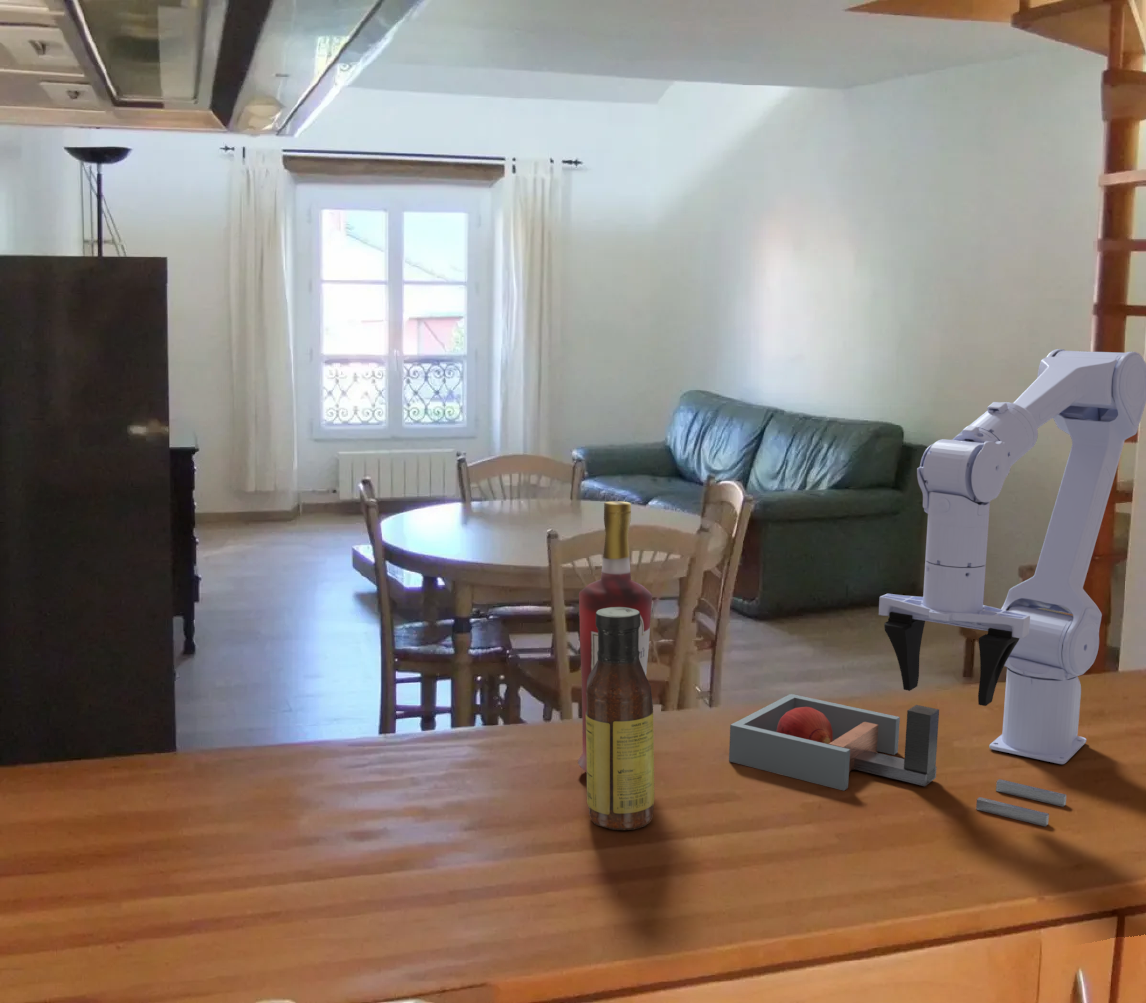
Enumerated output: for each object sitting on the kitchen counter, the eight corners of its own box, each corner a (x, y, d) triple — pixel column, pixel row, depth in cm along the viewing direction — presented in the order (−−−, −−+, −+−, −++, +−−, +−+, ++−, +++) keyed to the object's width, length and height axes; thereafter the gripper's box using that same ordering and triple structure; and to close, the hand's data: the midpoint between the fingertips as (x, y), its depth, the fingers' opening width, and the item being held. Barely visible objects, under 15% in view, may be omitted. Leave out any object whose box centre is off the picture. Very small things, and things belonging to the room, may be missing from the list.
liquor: (631, 759, 131) (638, 497, 127) (658, 784, 124) (666, 507, 120) (566, 765, 128) (570, 499, 124) (589, 791, 122) (595, 510, 117)
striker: (862, 750, 134) (866, 684, 133) (946, 769, 128) (950, 701, 127) (827, 773, 127) (830, 705, 126) (913, 795, 121) (918, 723, 120)
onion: (797, 730, 126) (752, 713, 133) (811, 780, 127) (766, 761, 134) (840, 706, 128) (794, 691, 135) (854, 755, 129) (808, 738, 136)
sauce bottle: (661, 812, 117) (667, 607, 114) (643, 838, 111) (649, 622, 108) (595, 802, 119) (599, 600, 116) (574, 827, 113) (578, 615, 110)
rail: (998, 788, 124) (999, 779, 124) (1065, 804, 120) (1066, 794, 120) (976, 809, 119) (976, 799, 119) (1045, 826, 115) (1046, 816, 115)
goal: (788, 727, 142) (790, 693, 141) (897, 752, 134) (899, 717, 134) (728, 761, 131) (730, 724, 130) (843, 790, 123) (845, 752, 122)
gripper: (869, 558, 123) (862, 690, 125) (1017, 578, 114) (1007, 720, 116) (897, 548, 128) (890, 675, 130) (1040, 567, 120) (1030, 702, 122)
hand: (947, 695), depth 124 cm, fingers open, 7 cm apart
